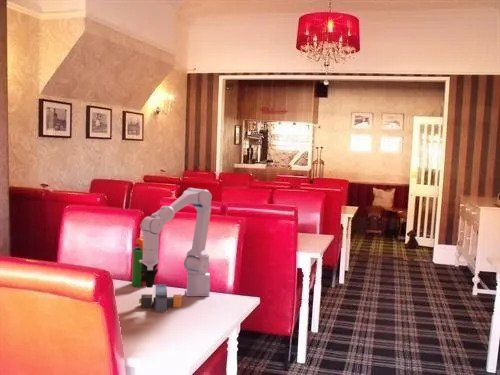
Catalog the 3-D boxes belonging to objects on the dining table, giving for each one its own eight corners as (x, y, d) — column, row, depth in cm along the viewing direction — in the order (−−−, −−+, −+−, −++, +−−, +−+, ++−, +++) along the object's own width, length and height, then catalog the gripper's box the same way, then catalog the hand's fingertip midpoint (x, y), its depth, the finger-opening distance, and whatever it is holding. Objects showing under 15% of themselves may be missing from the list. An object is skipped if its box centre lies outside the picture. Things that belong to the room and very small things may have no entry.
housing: (165, 300, 190) (166, 284, 190) (166, 312, 177) (167, 295, 176) (155, 300, 190) (155, 284, 189) (155, 312, 176) (156, 295, 175)
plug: (180, 303, 187) (181, 293, 186) (181, 307, 182) (181, 297, 182) (139, 304, 184) (139, 294, 183) (138, 308, 179) (139, 298, 179)
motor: (147, 288, 205) (148, 242, 203) (127, 286, 207) (128, 240, 205) (156, 282, 215) (157, 238, 213) (137, 280, 217) (139, 236, 215)
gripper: (140, 244, 187) (139, 279, 188) (139, 253, 173) (138, 290, 174) (158, 245, 188) (157, 279, 189) (159, 253, 174) (158, 289, 175)
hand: (149, 284), depth 181 cm, fingers open, 7 cm apart
